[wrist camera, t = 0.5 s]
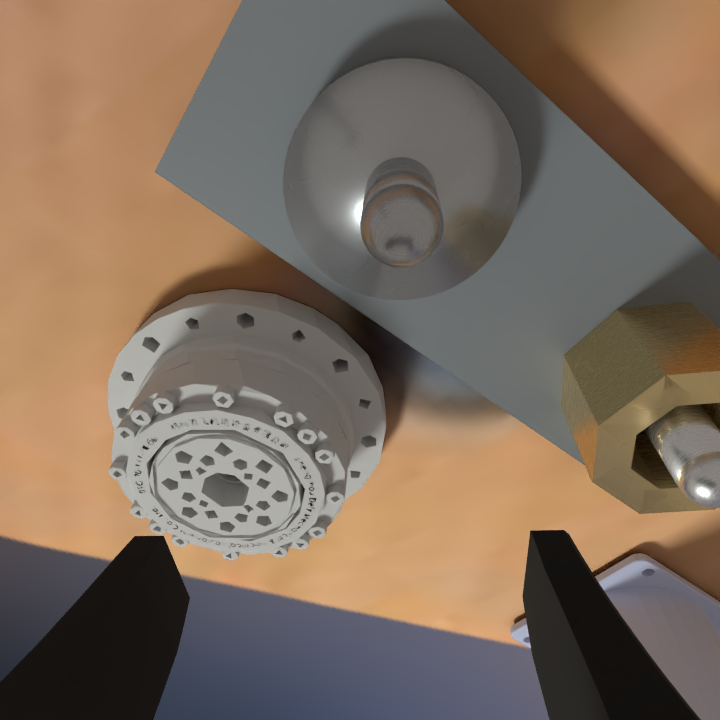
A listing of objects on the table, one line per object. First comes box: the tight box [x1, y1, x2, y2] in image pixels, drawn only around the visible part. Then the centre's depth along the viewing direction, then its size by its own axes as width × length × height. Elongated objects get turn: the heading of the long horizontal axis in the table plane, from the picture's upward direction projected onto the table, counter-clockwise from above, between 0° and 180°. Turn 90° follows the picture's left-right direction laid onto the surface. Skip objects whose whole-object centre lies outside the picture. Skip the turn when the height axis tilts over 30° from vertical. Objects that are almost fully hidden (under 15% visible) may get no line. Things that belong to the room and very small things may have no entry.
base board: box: [155, 0, 720, 465], centre depth 16 cm, size 20×8×1 cm, turn 53°
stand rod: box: [644, 404, 720, 508], centre depth 15 cm, size 2×2×5 cm
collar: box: [560, 302, 720, 514], centre depth 16 cm, size 5×5×4 cm
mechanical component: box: [108, 289, 386, 561], centre depth 19 cm, size 10×4×10 cm
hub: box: [283, 56, 522, 300], centre depth 13 cm, size 6×6×4 cm
